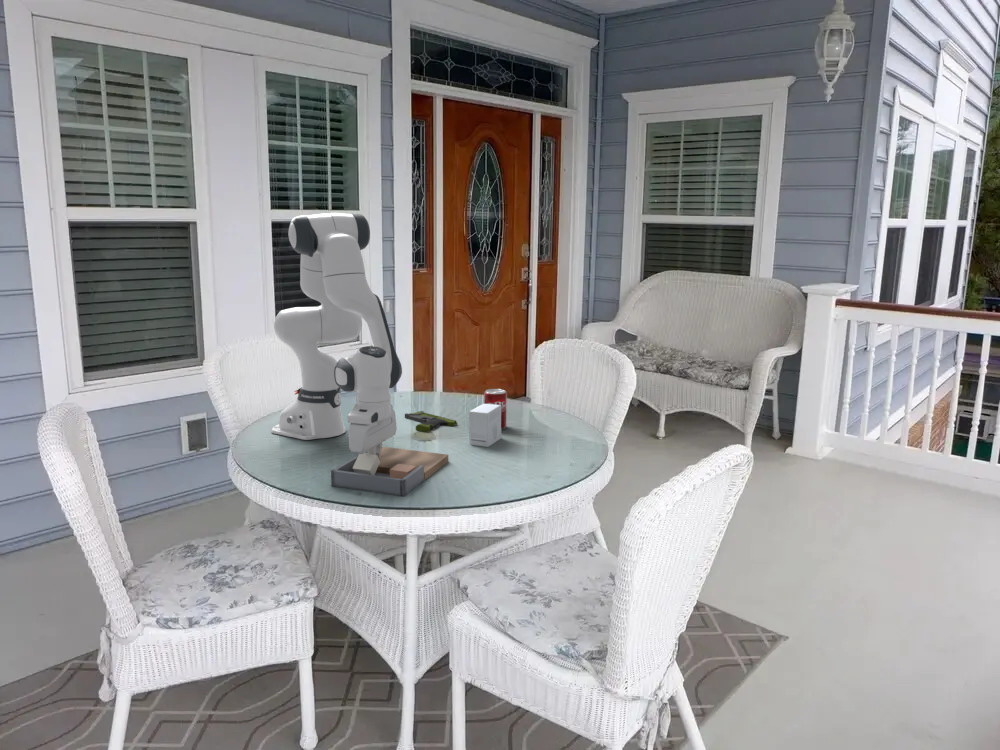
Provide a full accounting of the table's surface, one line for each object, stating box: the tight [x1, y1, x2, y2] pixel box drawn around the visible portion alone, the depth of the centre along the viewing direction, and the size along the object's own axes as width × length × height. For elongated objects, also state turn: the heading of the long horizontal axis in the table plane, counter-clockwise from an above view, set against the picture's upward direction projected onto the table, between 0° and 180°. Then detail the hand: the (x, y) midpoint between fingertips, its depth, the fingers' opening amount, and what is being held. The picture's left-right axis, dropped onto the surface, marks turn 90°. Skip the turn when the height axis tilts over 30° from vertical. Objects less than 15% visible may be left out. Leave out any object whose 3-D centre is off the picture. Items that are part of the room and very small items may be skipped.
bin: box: [330, 456, 425, 497], centre depth 196 cm, size 20×12×4 cm, turn 72°
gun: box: [404, 410, 458, 433], centre depth 253 cm, size 2×19×15 cm
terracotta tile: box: [390, 464, 416, 479], centre depth 199 cm, size 5×5×3 cm
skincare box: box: [468, 403, 502, 448], centre depth 233 cm, size 10×6×10 cm, turn 157°
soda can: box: [483, 388, 508, 431], centre depth 248 cm, size 7×7×12 cm
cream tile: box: [352, 452, 380, 475], centre depth 201 cm, size 5×5×3 cm
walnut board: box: [376, 446, 449, 481], centre depth 210 cm, size 20×16×2 cm
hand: (374, 460), depth 205 cm, fingers closed
